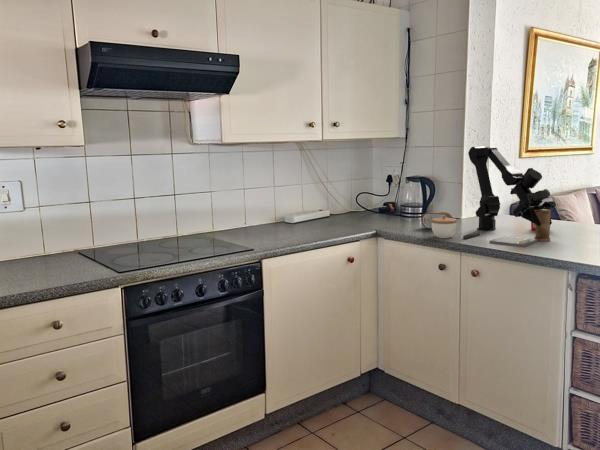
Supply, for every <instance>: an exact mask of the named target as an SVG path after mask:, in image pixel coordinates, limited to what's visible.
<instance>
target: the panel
mask: <svg viewBox="0 0 600 450" xmlns="http://www.w3.org/2000/svg"><path fill="white" fill-rule="evenodd" d="M525 238H526V237H516V236H507V235H503V236H499V237H496V238H493V239H490V240H489V244H496V245H503V246H513V247H522V248H525V247H527V246H530V245H533V244H535V243H538V241H537V239H534V238H531V241H529V242H527V243H524V244H520V243H519V240H522V239H525Z"/></svg>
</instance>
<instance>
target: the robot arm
mask: <svg viewBox="0 0 600 450" xmlns="http://www.w3.org/2000/svg"><path fill="white" fill-rule="evenodd" d="M467 154H468V159H469V160H470V162H471V163H472V164H473V166H474V167H475V172H476V177H477V180H478V186H479V189H480V194H481V197H480V199H479V200H480V201H479V207H478V208H477V210H476V211H475V216H476V217H478V227H476V229H477V230H481V231H494V230H496V229H497V227H496V219H495V217H498V215H499V211H500V209H501V203H500V202H501V201H500V198H499V196H498V195H495V194H494V193H493V188H492V184H491V178H490V175H489V171H488V166H487V163H488V159H490V161H491V163H493V164H494V165H495V167H496V168H497V170H498V171H499V172H500V174H501V179H502V181H503V182H504V184H505V185H506V186H507V187H508V186H513V187H511V188H510V189H511V190H510V193H509V194H510V195H516V197H517V198H518V200H519V201H518V205H517V206H516V207H514V209H513V211H512V214H513V216H514V217H515V218H519V217H520V218H521V219H525V220H526V221H529V222H530V223H531V222H532V223H534V224H536V225H538V226H540V225H541V223H540V221H539V220H538V218H537V216H536V215H535V212H534V211H536V210H537V209H548V210H551V211H552V210H554V208H555V207H556V206H557V203H556V202H555V201H554V200H548V201H544V202H543V200H545V199H549V197H550V196H551V192H550V190H549V189H548V188H545V189H542V190H537V191H535V192H533V191H532V190H531V189H534V188H535V187H536V186H537V184H538V183H539V182H540V181H541V180H542V179H543V175H542V173H541V172H539V171H537V170H536V169H534V168H533V167H529V168H528V169H526V171H525V173H524V174H523V172H521V171H520V170H519V169H517V168H516V167H513V166H512V165H510V164H511V163H509V162H508V161H507V159H506V158H505V157H504V156H503V155H502V153H501V152H500V151H499V149H498V147H497V146H487V147H486V146H484V145H482V146H471V147H469V150H468V153H467ZM552 224H553V222H552V217H550V226H551V225H552Z"/></svg>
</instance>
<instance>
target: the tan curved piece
mask: <svg viewBox="0 0 600 450" xmlns="http://www.w3.org/2000/svg"><path fill="white" fill-rule="evenodd" d="M443 216H445V218H453V216H452V215H451V214H450V213H449V212H446V211H432V210H430V211H427V212H424V213H423V215H422V217H421V224H422V226H423V227H424V228H426V229H428V228H431V229H430V230H432V222H431V219H434V218H443Z"/></svg>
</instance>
